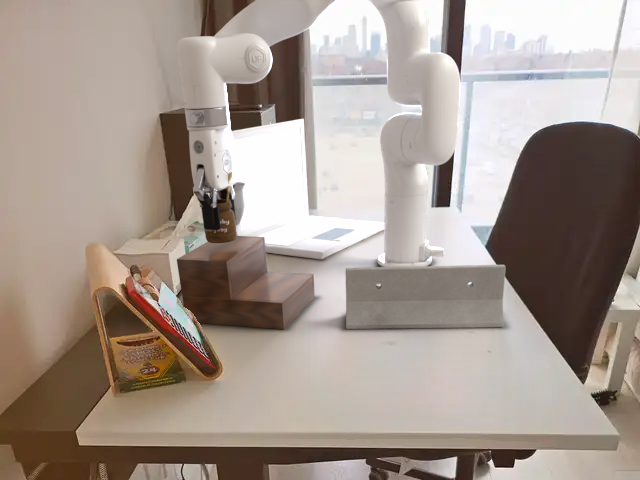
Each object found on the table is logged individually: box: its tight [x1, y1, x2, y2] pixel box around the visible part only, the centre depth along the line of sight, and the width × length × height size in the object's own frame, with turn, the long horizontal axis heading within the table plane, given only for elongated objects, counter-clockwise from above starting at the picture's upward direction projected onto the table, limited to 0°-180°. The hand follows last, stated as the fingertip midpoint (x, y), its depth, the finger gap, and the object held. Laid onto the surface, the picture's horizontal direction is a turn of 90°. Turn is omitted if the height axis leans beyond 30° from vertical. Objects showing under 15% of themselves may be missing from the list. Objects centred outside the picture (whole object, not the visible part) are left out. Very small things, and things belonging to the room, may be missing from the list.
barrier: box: [345, 264, 507, 330], centre depth 116 cm, size 28×7×10 cm, turn 86°
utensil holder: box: [204, 172, 237, 243], centre depth 120 cm, size 6×6×12 cm
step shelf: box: [176, 236, 316, 330], centre depth 125 cm, size 20×18×12 cm
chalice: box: [217, 182, 245, 236], centre depth 154 cm, size 7×7×18 cm
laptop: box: [231, 118, 384, 260], centre depth 169 cm, size 34×28×28 cm
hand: (220, 224), depth 122 cm, fingers closed on utensil holder, 6 cm apart
